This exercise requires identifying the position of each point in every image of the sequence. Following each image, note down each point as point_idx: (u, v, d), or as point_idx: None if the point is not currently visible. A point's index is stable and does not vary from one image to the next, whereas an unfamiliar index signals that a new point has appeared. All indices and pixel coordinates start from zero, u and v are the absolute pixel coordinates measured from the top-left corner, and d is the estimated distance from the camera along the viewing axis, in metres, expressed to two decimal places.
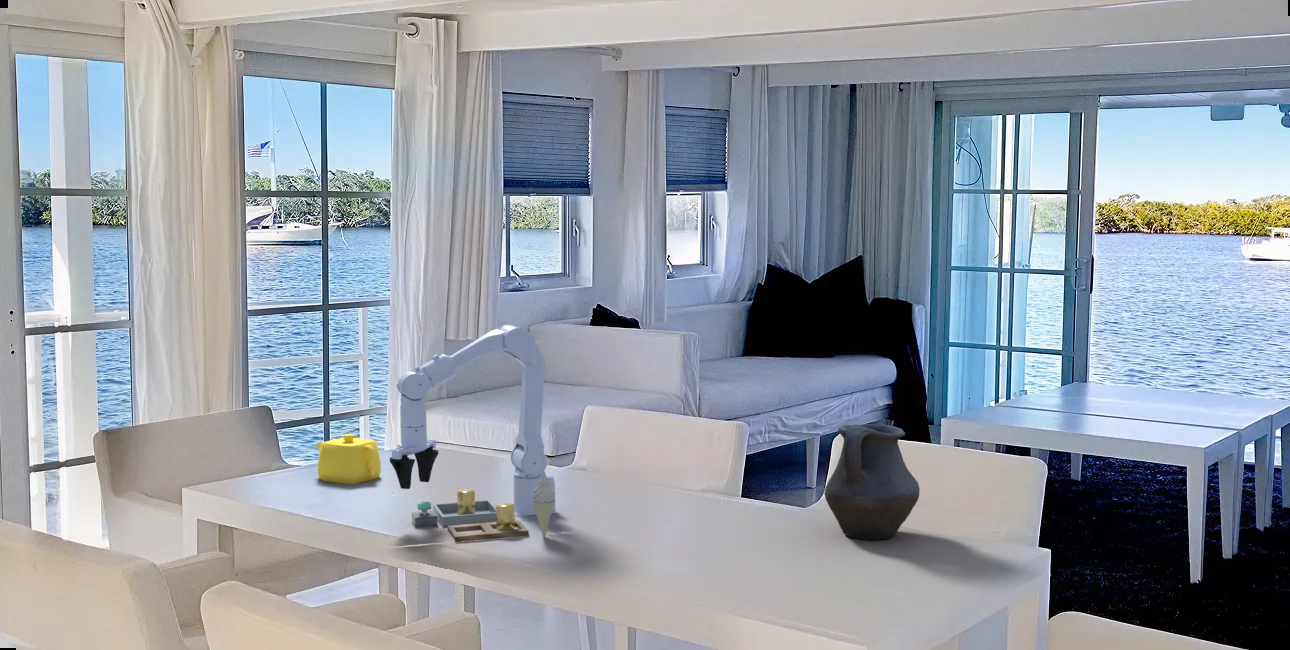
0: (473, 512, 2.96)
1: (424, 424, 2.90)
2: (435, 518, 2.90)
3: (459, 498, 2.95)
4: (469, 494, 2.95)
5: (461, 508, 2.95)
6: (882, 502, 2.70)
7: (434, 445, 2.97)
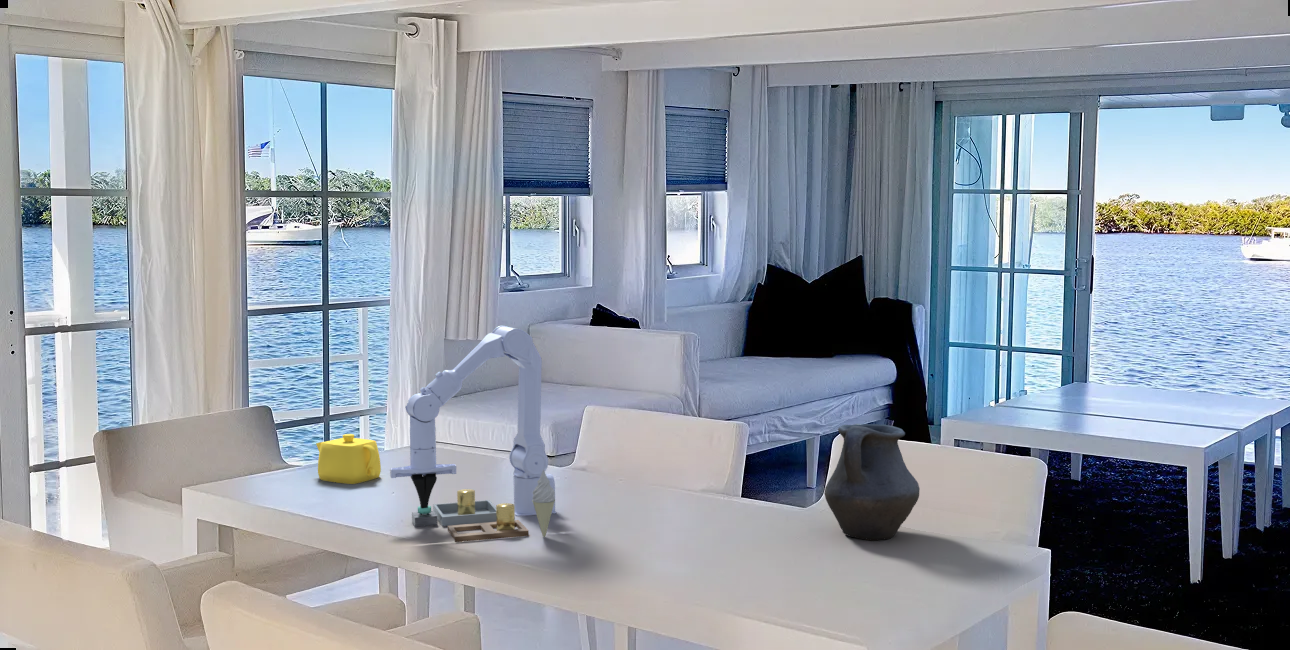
0: (473, 512, 2.96)
1: (434, 446, 2.89)
2: (435, 518, 2.90)
3: (459, 498, 2.95)
4: (469, 494, 2.95)
5: (461, 508, 2.95)
6: (882, 502, 2.70)
7: (453, 471, 2.91)
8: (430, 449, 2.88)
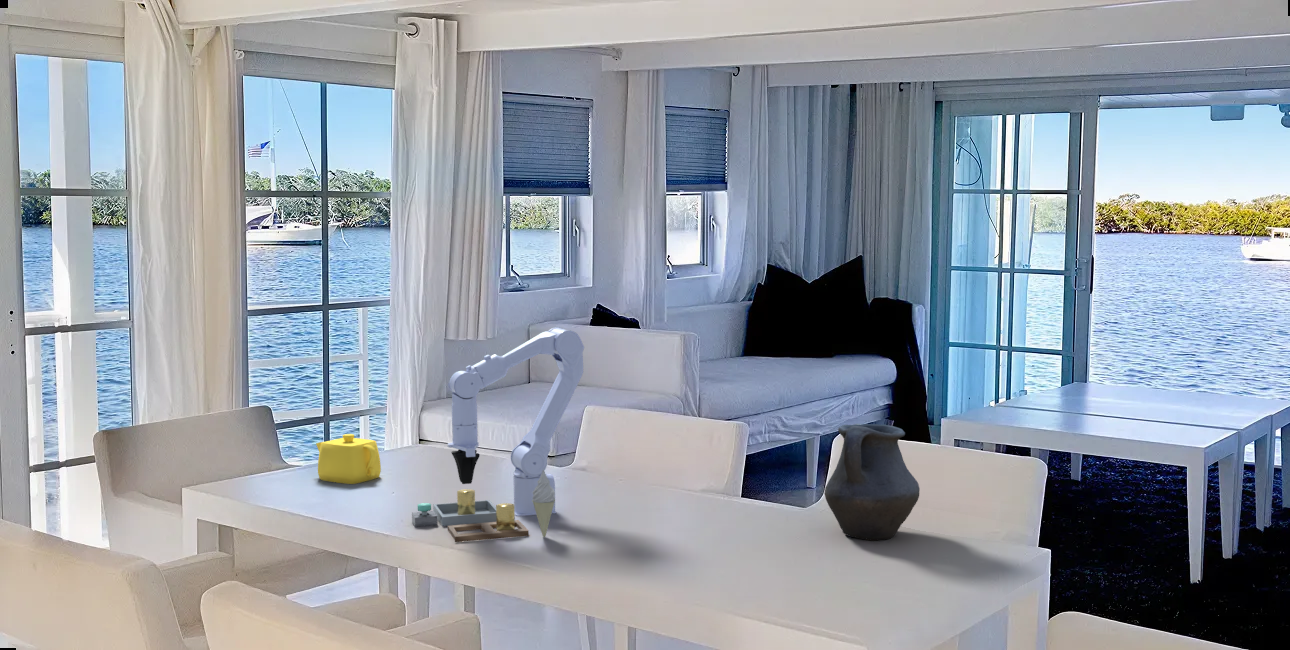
0: (473, 512, 2.96)
1: (475, 422, 2.94)
2: (435, 518, 2.90)
3: (459, 498, 2.95)
4: (469, 494, 2.95)
5: (461, 508, 2.95)
6: (882, 502, 2.70)
7: None
8: None
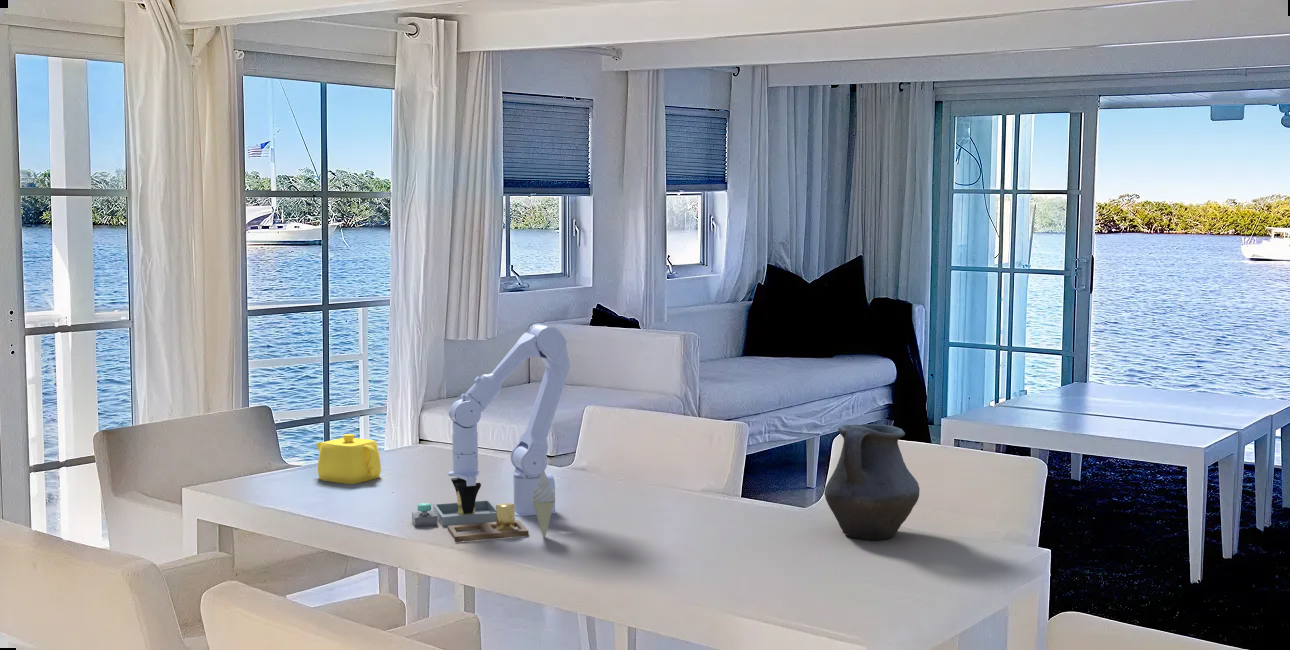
0: (473, 512, 2.96)
1: (476, 451, 2.95)
2: (435, 518, 2.90)
3: (459, 498, 2.95)
4: None
5: (461, 508, 2.95)
6: (882, 502, 2.70)
7: None
8: None
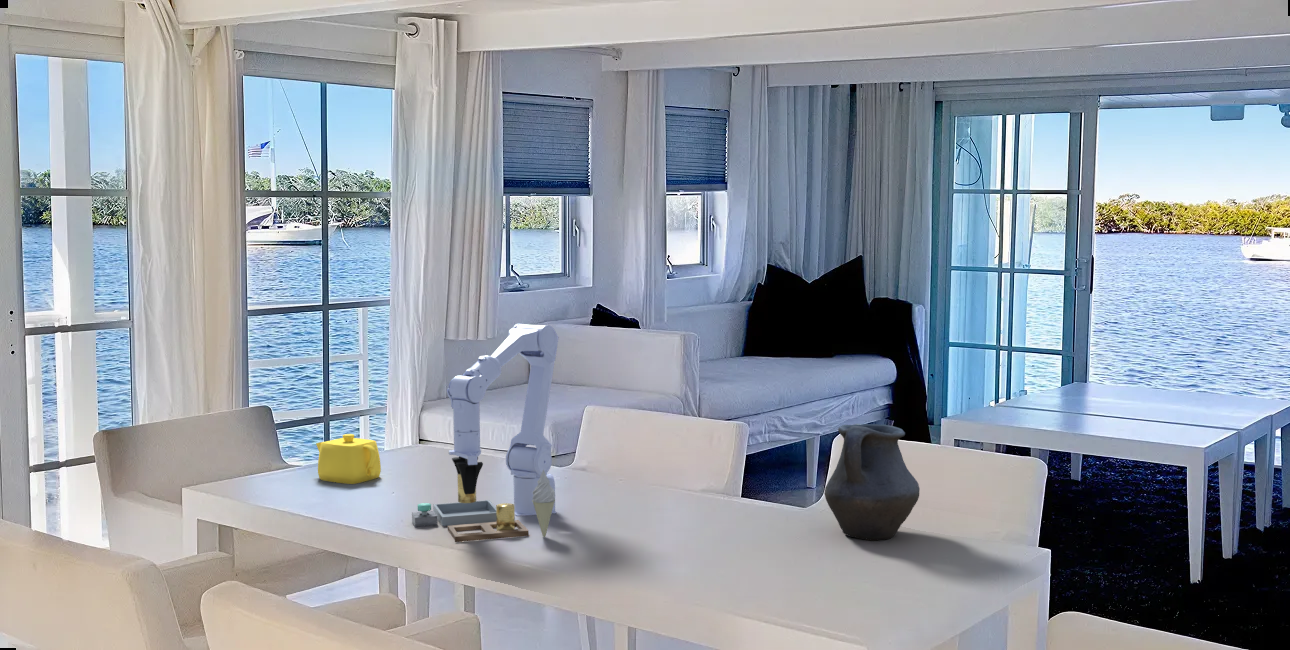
0: (474, 496, 2.84)
1: (479, 427, 2.84)
2: (435, 518, 2.90)
3: (460, 481, 2.83)
4: None
5: (462, 491, 2.83)
6: (882, 502, 2.70)
7: None
8: None
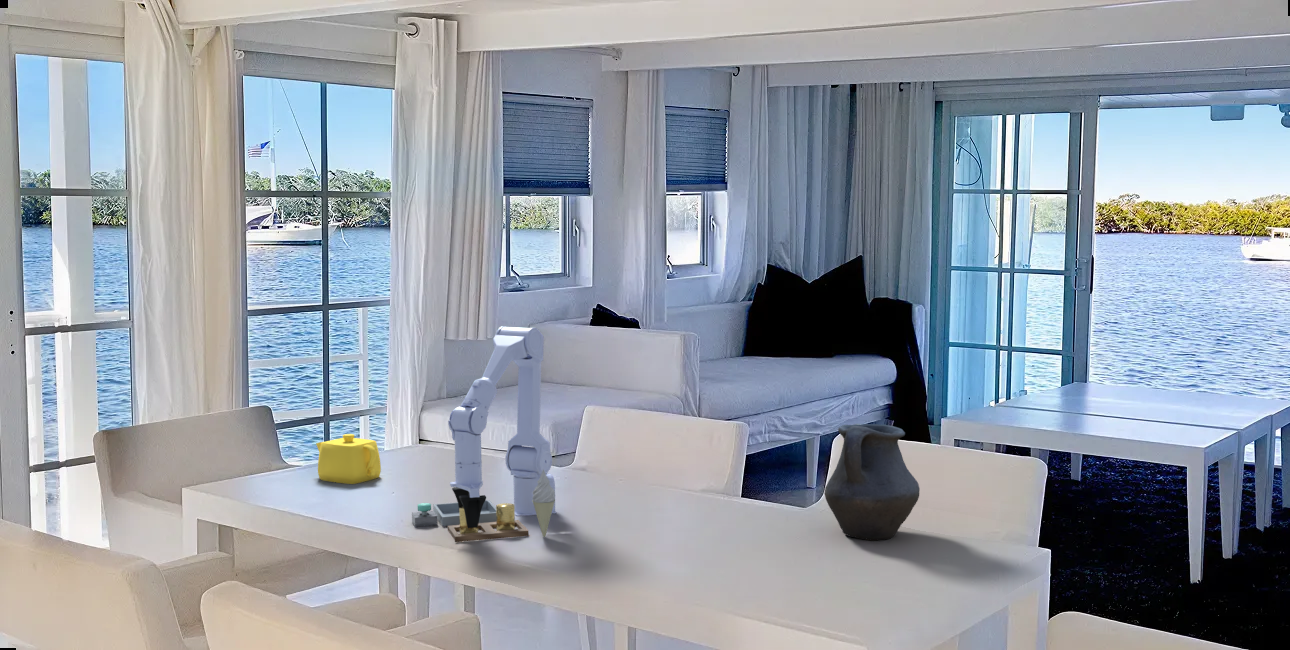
0: (476, 530, 2.82)
1: None
2: (435, 518, 2.90)
3: (462, 516, 2.81)
4: None
5: (464, 526, 2.80)
6: (882, 502, 2.70)
7: None
8: None
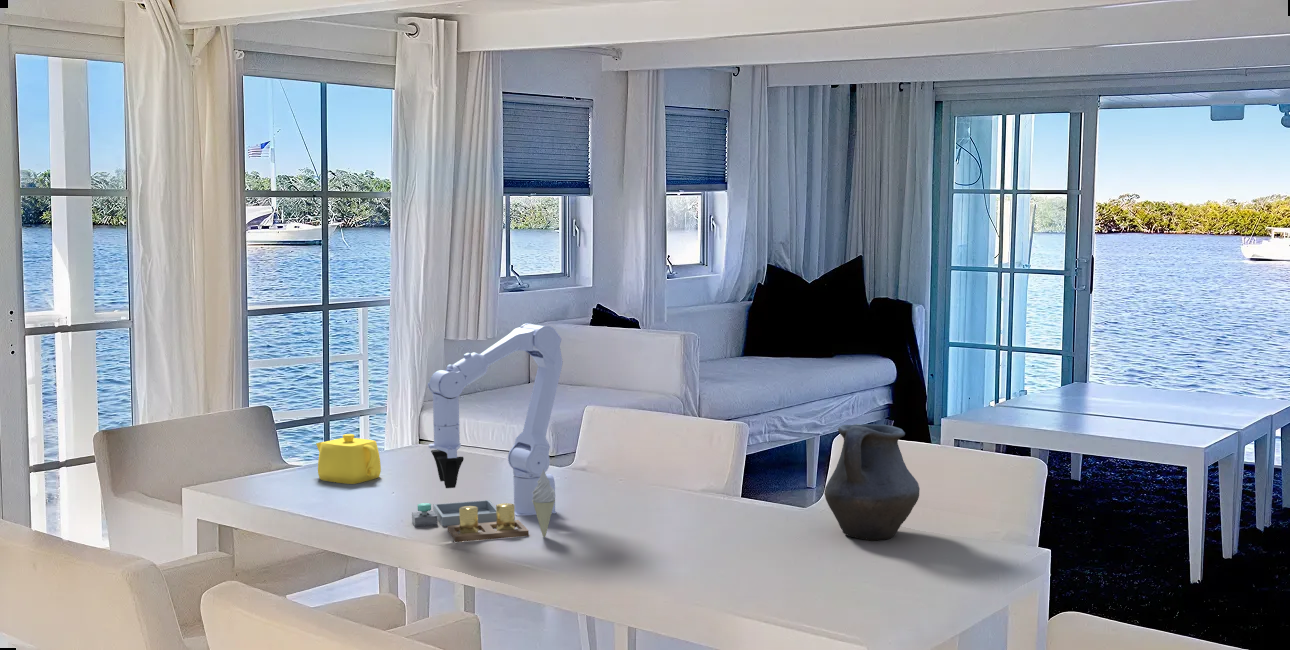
0: (476, 530, 2.82)
1: (458, 422, 2.88)
2: (435, 518, 2.90)
3: (462, 516, 2.81)
4: (472, 511, 2.80)
5: (464, 526, 2.80)
6: (882, 502, 2.70)
7: None
8: None
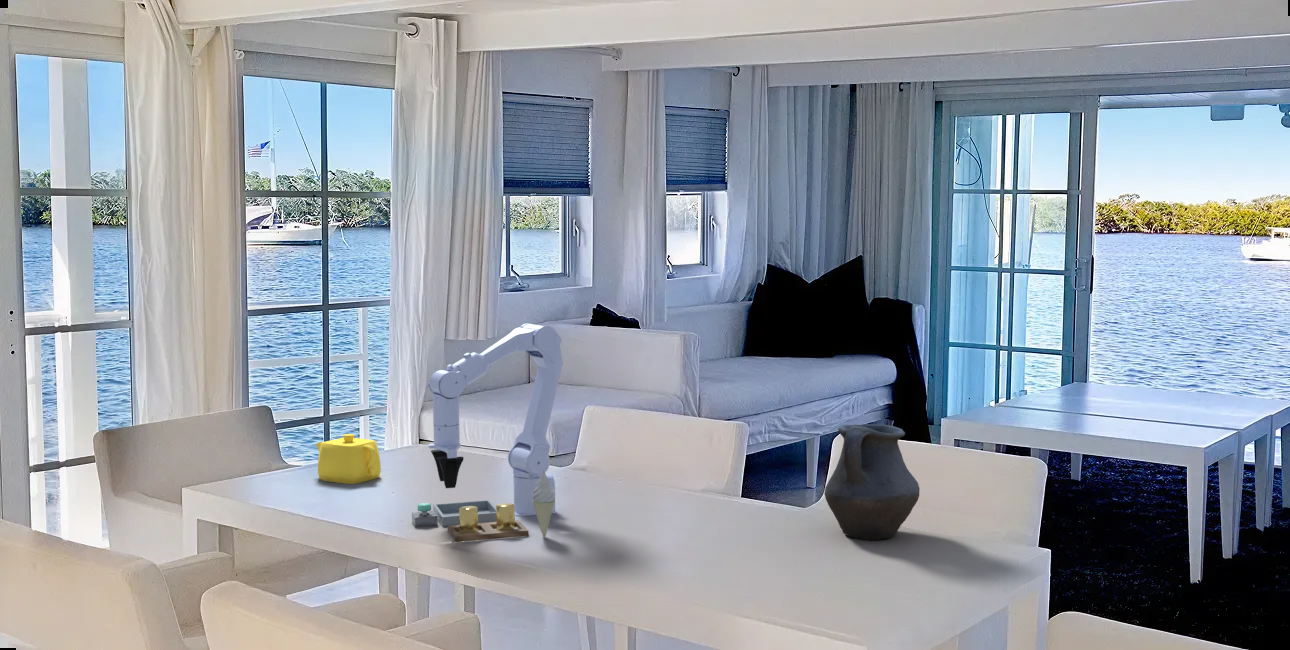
0: (476, 530, 2.82)
1: (458, 422, 2.89)
2: (435, 518, 2.90)
3: (461, 516, 2.81)
4: (472, 511, 2.80)
5: (464, 526, 2.80)
6: (882, 502, 2.70)
7: None
8: None
